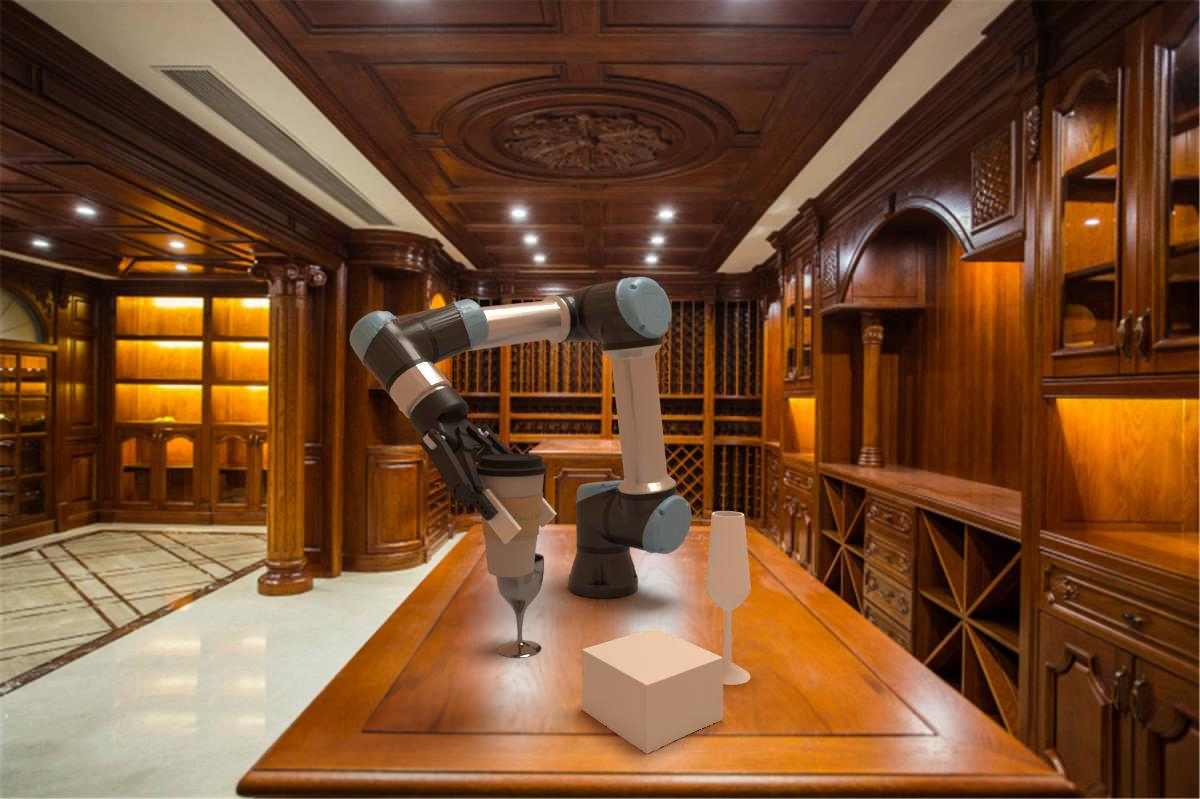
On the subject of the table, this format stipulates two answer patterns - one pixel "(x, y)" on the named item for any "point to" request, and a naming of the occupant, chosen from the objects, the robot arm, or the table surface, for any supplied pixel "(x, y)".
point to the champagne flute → (728, 579)
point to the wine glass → (521, 606)
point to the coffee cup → (513, 510)
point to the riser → (652, 687)
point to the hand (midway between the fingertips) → (532, 528)
